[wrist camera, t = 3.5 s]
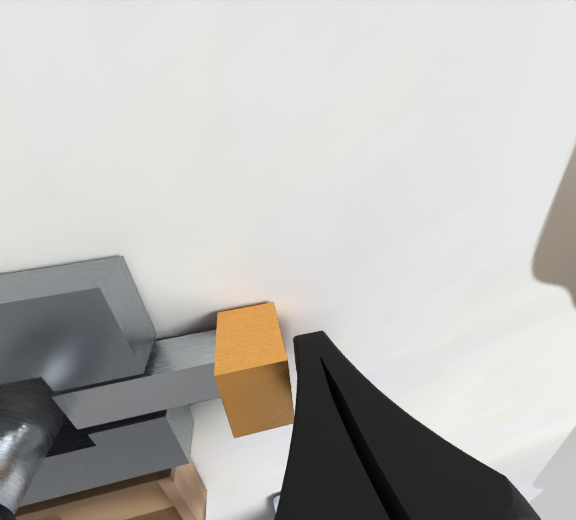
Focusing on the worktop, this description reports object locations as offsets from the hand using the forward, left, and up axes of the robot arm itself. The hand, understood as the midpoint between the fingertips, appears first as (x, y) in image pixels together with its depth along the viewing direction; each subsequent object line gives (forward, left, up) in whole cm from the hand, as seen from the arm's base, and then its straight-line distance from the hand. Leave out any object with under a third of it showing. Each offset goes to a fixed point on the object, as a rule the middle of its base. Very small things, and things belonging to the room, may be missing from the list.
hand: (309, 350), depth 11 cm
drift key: (0, +5, -1) cm, 5 cm away
